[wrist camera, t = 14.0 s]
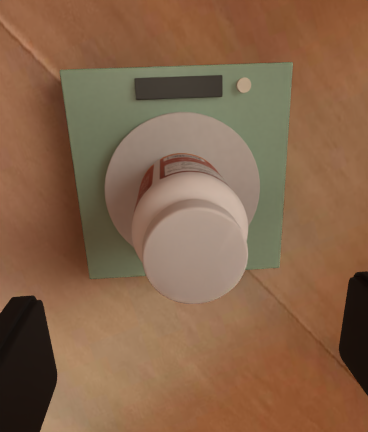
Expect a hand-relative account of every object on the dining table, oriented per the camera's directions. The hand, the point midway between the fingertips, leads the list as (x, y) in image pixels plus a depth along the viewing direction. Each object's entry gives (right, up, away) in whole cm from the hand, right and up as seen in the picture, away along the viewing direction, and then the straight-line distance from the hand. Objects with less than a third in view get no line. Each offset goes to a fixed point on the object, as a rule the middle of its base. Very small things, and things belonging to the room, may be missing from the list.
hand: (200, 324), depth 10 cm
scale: (-1, +7, +18) cm, 19 cm away
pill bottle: (-1, +5, +15) cm, 16 cm away
